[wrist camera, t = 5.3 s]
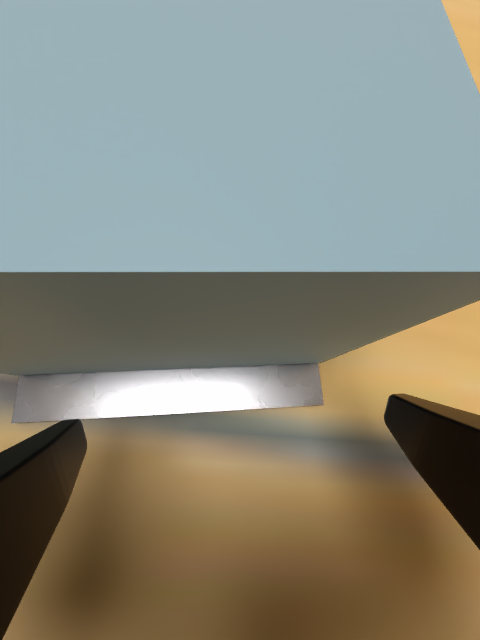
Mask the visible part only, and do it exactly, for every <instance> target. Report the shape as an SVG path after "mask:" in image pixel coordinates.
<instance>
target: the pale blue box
mask: <svg viewBox="0 0 480 640" xmlns="http://www.w3.org/2000/svg"><path fill="white" fill-rule="evenodd" d="M479 300H480V94H479V92H478V89H477V87H476V84H475V82H474V80H473V77H472V75H471V72H470V70H469V67H468V65H467V62H466V60H465V58H464V55H463V53H462V50H461V48H460V45H459V43H458V41H457V38H456V36H455V33H454V31H453V28H452V26H451V24H450V21H449V19H448V16H447V14H446V11H445V9H444V7H443V4H442V2H441V0H0V373H4V374H10V375H36V374H61V373H85V372H110V371H135V370H159V369H184V368H208V367H233V366H257V365H282V364H306V363H321V362H324V361H327V360H329V359H332V358H334V357H337V356H339V355H342V354H344V353H347V352H349V351H352V350H354V349H357V348H360V347H362V346H365V345H367V344H370V343H372V342H375V341H377V340H380V339H382V338H385V337H387V336H390V335H393V334H395V333H398V332H400V331H403V330H405V329H408V328H410V327H413V326H415V325H418V324H421V323H423V322H426V321H428V320H431V319H433V318H436V317H438V316H441V315H443V314H446V313H448V312H451V311H454V310H456V309H459V308H461V307H464V306H466V305H469V304H471V303H474V302H476V301H479Z"/></svg>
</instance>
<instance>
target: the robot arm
mask: <svg viewBox="0 0 480 640" xmlns="http://www.w3.org/2000/svg"><path fill="white" fill-rule="evenodd" d="M384 420H385V423H386V426H387V427H388V429H389V430H390V432H391V433H392V435H393V436H394V438H395V439H396V441H397V442H398V444H399V445H400V447H401V449H402V450H403V452H404V453H405V455H406V456H407V458H408V459H409V461H410V462H411V464H412V465H413V466H414V468H415V469H416V470H417V472H418V473H419V474H420V475H421V477H422V478H423V479H424V480H425V482H426V483H427V484H428V486H429V487H430V488H431V489H432V491H433V492H434V493H435V494H436V496H437V497H438V498H439V499H440V501H441V502H442V503H443V504H444V506H445V507H446V508H447V509H448V511H449V512H450V513H451V514H452V516H453V517H454V518H455V519H456V521H457V522H458V523H459V525H460V526H461V527H462V528H463V530H464V531H465V532H466V533H467V535H468V536H469V537H470V538H471V540H472V541H473V542H474V543H475V545H476V546H477V547H478V548H479V550H480V415H476V414H473V413H469V412H466V411H462V410H459V409H455V408H452V407H448V406H445V405H441V404H438V403H435V402H431V401H428V400H424V399H421V398H417V397H414V396H410V395H407V394H392V395H390V396H389V398H388V402H387V406H386V410H385V414H384ZM86 450H87V440H86V437H85V433H84V429H83V425H82V422H81V420H79V419H67V420H63V421H61V422H59V423H57V424H55V425H53V426H51V427H49V428H47V429H45V430H43V431H41V432H39V433H37V434H35V435H33V436H31V437H30V438H28V439H26V440H24V441H22V442H20V443H18V444H16V445H14V446H12V447H10V448H8V449H6V450H4V451H2V452H1V453H0V640H2V639H3V637H4V635H5V633H6V631H7V629H8V626H9V624H10V622H11V620H12V618H13V616H14V614H15V612H16V610H17V608H18V606H19V604H20V602H21V599H22V597H23V595H24V593H25V591H26V589H27V587H28V585H29V583H30V581H31V579H32V577H33V575H34V572H35V570H36V568H37V566H38V564H39V562H40V560H41V558H42V556H43V554H44V552H45V550H46V548H47V545H48V543H49V541H50V539H51V537H52V535H53V533H54V531H55V529H56V527H57V525H58V523H59V521H60V518H61V516H62V514H63V512H64V510H65V508H66V506H67V503H68V501H69V498H70V496H71V493H72V490H73V487H74V484H75V482H76V479H77V476H78V473H79V470H80V468H81V465H82V462H83V459H84V456H85V454H86Z"/></svg>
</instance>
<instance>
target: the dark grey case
mask: <svg viewBox="0 0 480 640" xmlns="http://www.w3.org/2000/svg"><path fill="white" fill-rule="evenodd" d="M312 405H324V403H323V396H322V388H321V381H320V374H319V366H318V363H306V364H282V365H257V366H233V367H208V368H184V369H159V370H135V371H110V372H85V373H61V374H36V375H19V381H18V387H17V393H16V399H15V405H14V411H13V417H12V423H25V422H42V421H58V420H67V419H92V418H109V417H126V416H143V415H160V414H177V413H194V412H211V411H228V410H244V409H261V408H278V407H295V406H312Z"/></svg>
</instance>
